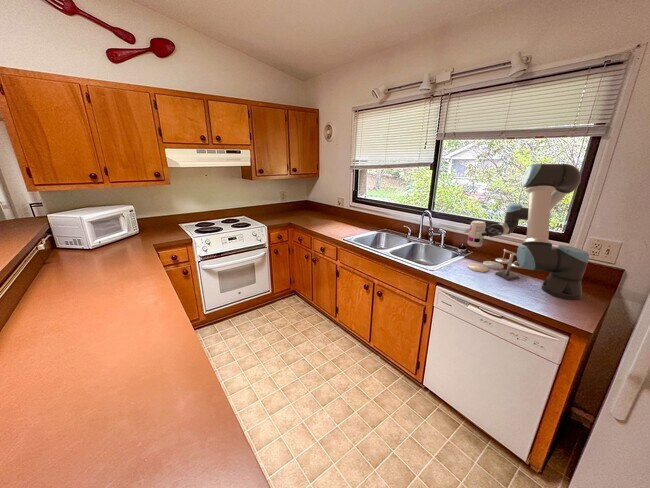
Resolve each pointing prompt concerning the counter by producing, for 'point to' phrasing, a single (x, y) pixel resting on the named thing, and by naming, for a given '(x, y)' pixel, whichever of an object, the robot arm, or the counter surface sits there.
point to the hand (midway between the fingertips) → (470, 232)
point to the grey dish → (493, 265)
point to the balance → (508, 267)
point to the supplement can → (474, 228)
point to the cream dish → (478, 267)
